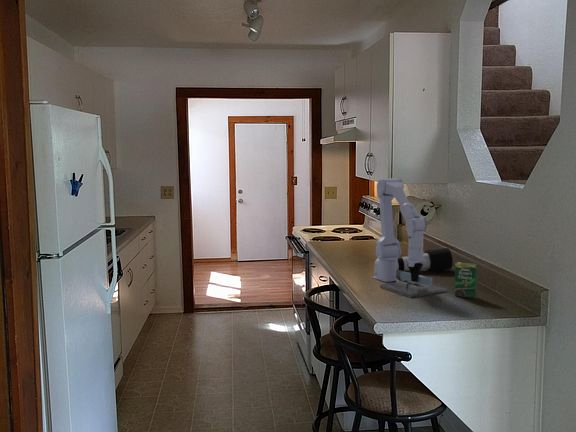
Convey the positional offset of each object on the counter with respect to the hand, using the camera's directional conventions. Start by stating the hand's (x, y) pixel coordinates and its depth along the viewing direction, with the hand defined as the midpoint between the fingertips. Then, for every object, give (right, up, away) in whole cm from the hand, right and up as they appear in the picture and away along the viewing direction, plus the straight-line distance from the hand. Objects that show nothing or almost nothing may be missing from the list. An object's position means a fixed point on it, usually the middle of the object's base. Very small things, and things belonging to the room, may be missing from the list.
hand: (414, 281), depth 214 cm
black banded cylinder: (+8, 0, +37) cm, 38 cm away
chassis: (0, -4, +4) cm, 6 cm away
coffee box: (+18, -5, -6) cm, 20 cm away
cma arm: (0, 0, +4) cm, 4 cm away
